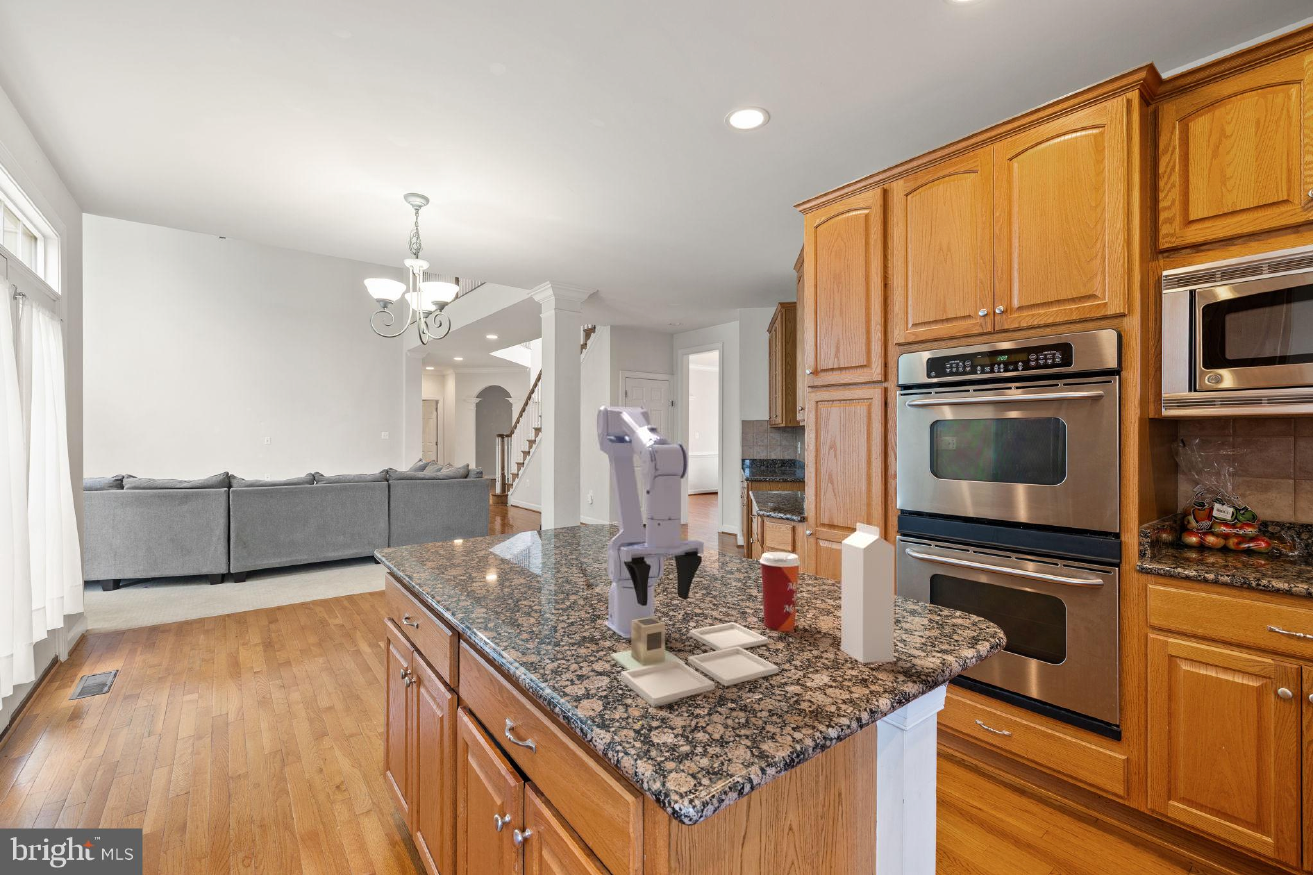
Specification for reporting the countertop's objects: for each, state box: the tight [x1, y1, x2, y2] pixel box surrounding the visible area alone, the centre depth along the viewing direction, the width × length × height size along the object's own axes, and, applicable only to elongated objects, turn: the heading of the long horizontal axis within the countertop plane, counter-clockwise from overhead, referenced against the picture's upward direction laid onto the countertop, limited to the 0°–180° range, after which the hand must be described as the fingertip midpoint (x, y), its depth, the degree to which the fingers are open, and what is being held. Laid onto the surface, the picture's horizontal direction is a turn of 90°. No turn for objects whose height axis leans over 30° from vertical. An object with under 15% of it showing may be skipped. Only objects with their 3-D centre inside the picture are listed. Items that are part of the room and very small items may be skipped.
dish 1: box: [620, 659, 715, 708], centre depth 83 cm, size 10×10×1 cm
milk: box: [840, 522, 895, 665], centre depth 95 cm, size 6×6×22 cm
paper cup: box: [759, 551, 802, 632], centre depth 109 cm, size 8×8×14 cm
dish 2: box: [688, 621, 769, 651], centre depth 102 cm, size 10×10×1 cm
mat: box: [609, 649, 686, 671], centre depth 92 cm, size 9×9×1 cm
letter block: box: [630, 616, 666, 665], centre depth 92 cm, size 4×4×6 cm
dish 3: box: [687, 646, 780, 687], centre depth 89 cm, size 10×10×1 cm
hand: (662, 601), depth 93 cm, fingers open, 7 cm apart
